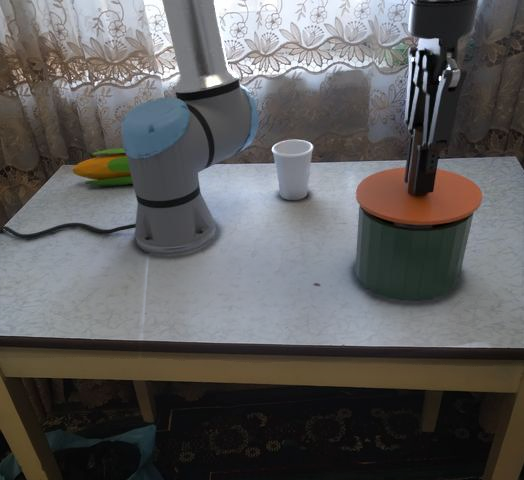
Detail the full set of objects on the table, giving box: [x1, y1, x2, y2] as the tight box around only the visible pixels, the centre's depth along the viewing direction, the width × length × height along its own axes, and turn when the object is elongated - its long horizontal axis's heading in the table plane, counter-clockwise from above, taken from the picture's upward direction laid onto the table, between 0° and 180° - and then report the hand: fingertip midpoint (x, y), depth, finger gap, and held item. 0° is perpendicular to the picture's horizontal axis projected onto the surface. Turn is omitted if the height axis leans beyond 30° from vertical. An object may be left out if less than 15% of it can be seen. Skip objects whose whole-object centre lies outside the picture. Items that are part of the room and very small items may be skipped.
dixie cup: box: [271, 139, 314, 201], centre depth 108 cm, size 8×8×10 cm
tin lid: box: [355, 125, 483, 225], centre depth 75 cm, size 18×18×10 cm
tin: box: [354, 204, 474, 302], centre depth 83 cm, size 17×17×12 cm
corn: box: [71, 147, 133, 187], centre depth 120 cm, size 7×8×20 cm
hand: (418, 186), depth 77 cm, fingers closed on tin lid, 3 cm apart
